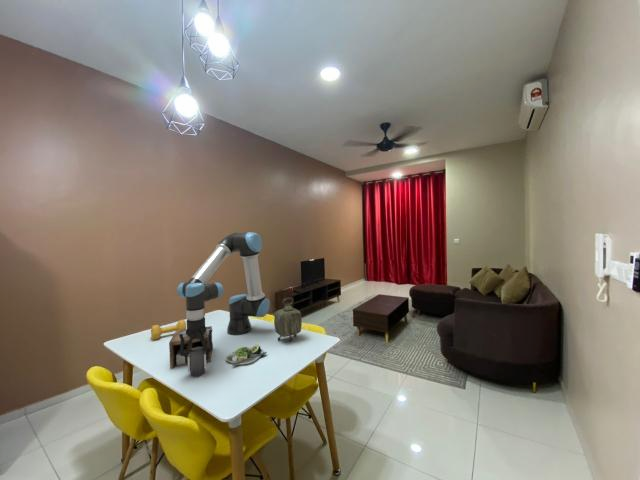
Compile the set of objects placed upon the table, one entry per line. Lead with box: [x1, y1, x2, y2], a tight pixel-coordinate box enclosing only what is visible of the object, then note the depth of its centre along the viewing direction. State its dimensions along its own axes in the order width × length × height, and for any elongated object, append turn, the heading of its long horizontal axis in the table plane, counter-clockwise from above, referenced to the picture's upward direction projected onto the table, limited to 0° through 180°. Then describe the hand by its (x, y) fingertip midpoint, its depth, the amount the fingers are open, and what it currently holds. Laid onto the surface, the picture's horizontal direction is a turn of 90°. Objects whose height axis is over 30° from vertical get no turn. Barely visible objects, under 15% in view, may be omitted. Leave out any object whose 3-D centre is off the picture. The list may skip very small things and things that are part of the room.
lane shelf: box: [168, 326, 213, 369], centre depth 133 cm, size 18×16×12 cm
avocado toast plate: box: [225, 344, 267, 367], centre depth 131 cm, size 19×18×5 cm
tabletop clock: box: [273, 297, 303, 342], centre depth 152 cm, size 14×9×25 cm, turn 122°
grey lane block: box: [175, 349, 189, 366], centre depth 129 cm, size 5×6×5 cm
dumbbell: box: [150, 319, 187, 341], centre depth 163 cm, size 19×9×8 cm, turn 126°
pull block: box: [189, 347, 206, 378], centre depth 124 cm, size 6×19×11 cm, turn 19°
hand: (197, 368), depth 117 cm, fingers closed on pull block, 6 cm apart
